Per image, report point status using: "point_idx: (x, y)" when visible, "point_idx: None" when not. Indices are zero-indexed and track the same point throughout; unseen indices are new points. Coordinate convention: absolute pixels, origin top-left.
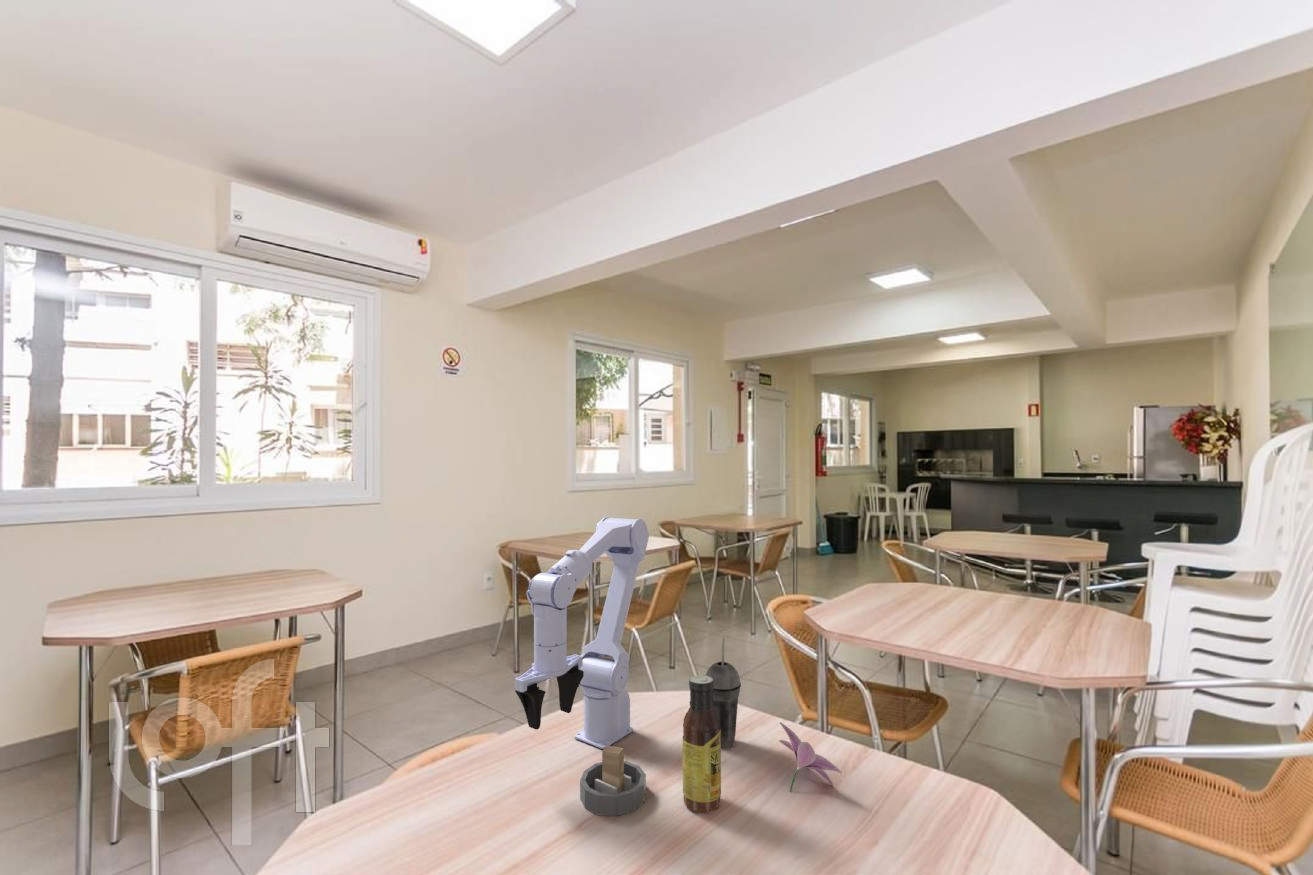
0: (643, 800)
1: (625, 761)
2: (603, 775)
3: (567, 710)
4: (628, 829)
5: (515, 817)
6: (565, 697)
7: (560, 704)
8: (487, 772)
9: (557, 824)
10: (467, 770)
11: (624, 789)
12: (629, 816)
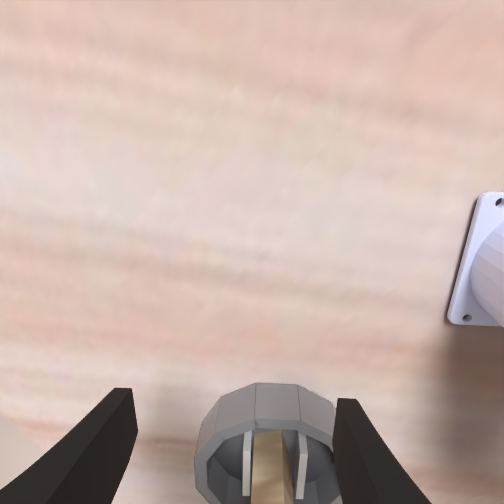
0: None
1: None
2: (253, 476)
3: (334, 446)
4: None
5: (78, 333)
6: (355, 496)
7: (344, 422)
8: (137, 106)
9: None
10: (95, 26)
11: (294, 458)
12: None
